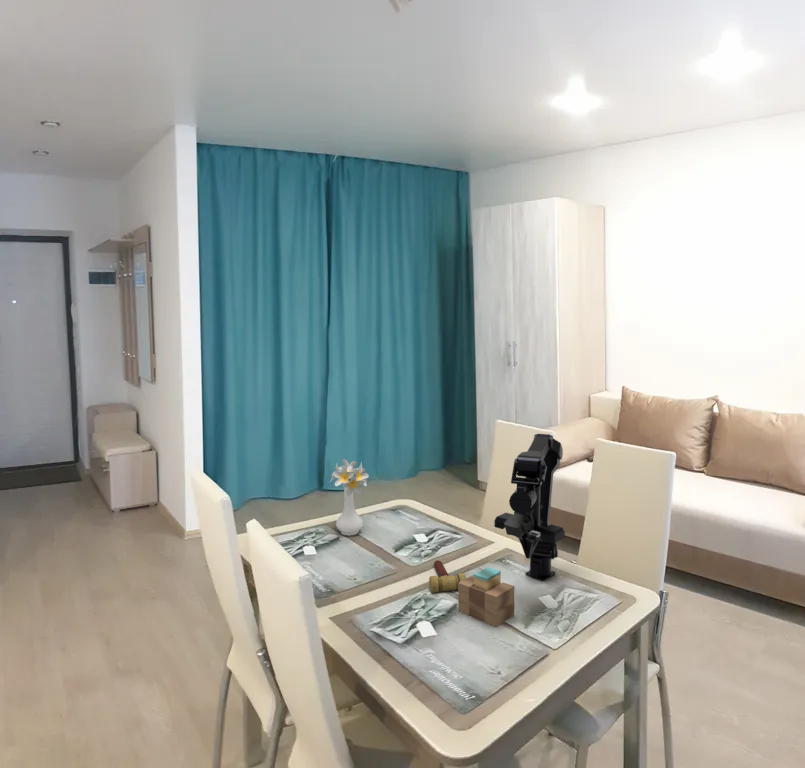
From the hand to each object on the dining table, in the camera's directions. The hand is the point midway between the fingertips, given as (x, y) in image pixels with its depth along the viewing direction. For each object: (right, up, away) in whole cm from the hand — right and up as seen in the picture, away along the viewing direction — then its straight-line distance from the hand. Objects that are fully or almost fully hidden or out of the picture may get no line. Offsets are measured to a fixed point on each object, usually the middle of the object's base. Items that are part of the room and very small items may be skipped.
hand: (528, 557), depth 178 cm
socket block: (-12, -13, -5) cm, 18 cm away
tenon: (-12, -13, -5) cm, 18 cm away
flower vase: (-51, -5, +53) cm, 74 cm away
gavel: (-22, -11, +17) cm, 30 cm away
